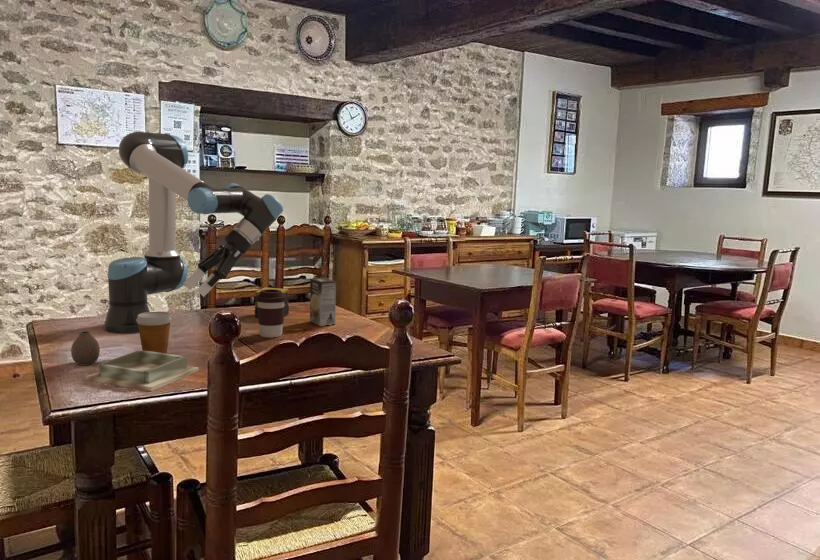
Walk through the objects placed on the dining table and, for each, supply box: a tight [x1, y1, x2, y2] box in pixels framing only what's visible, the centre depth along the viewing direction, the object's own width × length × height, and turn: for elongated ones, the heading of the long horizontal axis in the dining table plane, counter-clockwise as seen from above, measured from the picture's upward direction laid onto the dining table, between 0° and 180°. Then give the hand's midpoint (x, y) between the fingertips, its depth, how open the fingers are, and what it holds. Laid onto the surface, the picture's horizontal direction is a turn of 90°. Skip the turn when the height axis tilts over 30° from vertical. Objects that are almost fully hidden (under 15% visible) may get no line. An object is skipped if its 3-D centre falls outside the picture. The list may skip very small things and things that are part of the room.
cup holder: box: [85, 350, 200, 392], centre depth 164 cm, size 20×18×4 cm
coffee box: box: [309, 277, 337, 327], centre depth 229 cm, size 9×6×16 cm
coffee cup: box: [254, 289, 286, 339], centre depth 209 cm, size 10×10×15 cm
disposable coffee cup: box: [136, 311, 173, 354], centre depth 181 cm, size 10×10×12 cm
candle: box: [254, 287, 290, 319], centre depth 238 cm, size 10×10×10 cm
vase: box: [70, 330, 101, 366], centre depth 172 cm, size 7×7×9 cm
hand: (193, 290), depth 185 cm, fingers open, 13 cm apart
